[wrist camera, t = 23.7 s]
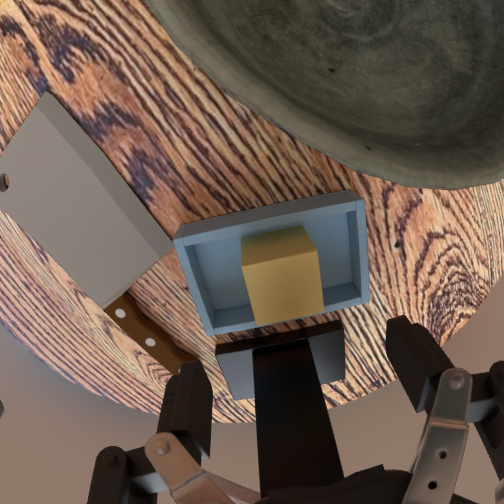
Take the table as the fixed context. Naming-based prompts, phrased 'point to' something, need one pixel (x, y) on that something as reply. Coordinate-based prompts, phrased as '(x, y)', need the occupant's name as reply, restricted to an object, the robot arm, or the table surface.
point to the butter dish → (266, 220)
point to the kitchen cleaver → (85, 218)
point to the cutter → (289, 401)
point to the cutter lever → (235, 490)
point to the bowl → (363, 78)
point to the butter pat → (282, 275)
